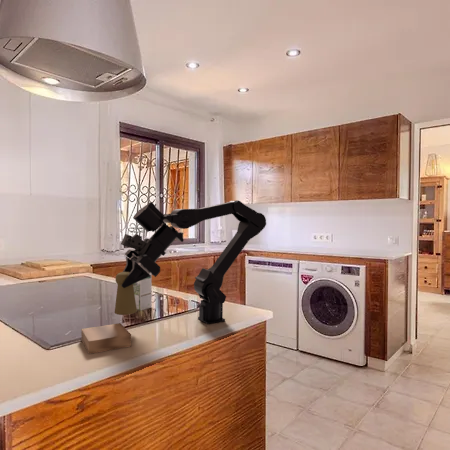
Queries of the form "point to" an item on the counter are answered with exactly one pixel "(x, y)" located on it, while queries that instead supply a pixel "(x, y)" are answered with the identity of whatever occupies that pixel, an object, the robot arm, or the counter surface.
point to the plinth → (105, 338)
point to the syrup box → (143, 293)
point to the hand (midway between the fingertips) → (120, 285)
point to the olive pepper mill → (124, 296)
